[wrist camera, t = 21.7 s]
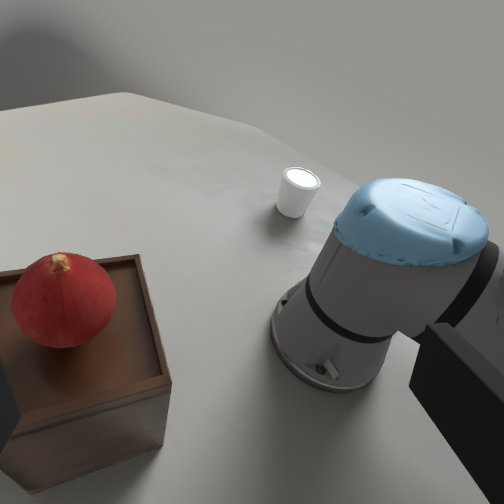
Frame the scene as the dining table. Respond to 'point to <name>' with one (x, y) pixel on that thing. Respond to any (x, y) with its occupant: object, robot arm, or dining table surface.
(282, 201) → the shot glass
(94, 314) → the onion
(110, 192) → the dining table surface
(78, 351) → the box
